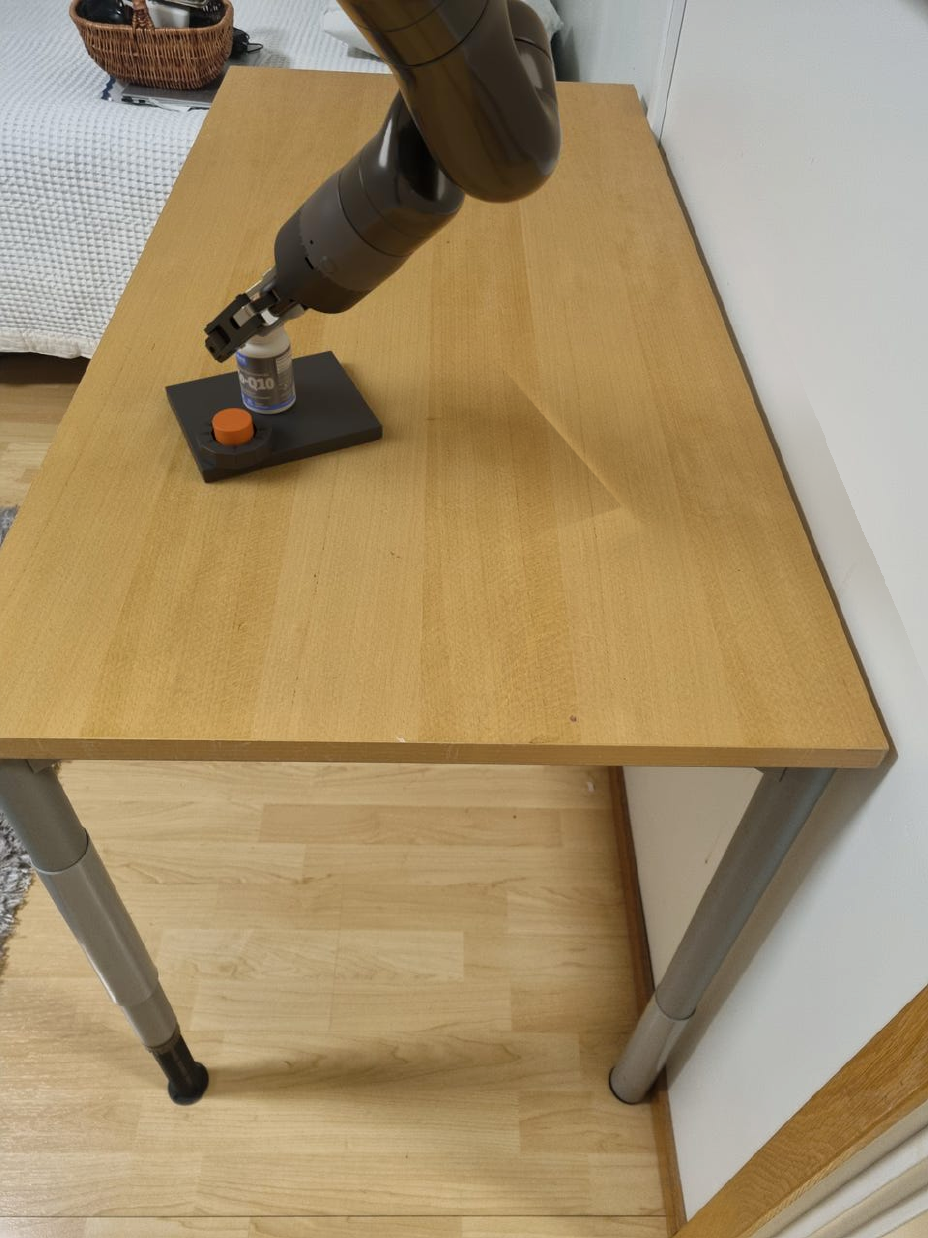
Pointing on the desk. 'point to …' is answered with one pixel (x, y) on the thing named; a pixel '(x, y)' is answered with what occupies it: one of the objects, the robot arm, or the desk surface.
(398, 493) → the desk surface
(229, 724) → the desk surface
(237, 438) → the button
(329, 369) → the black flat block
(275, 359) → the pill bottle
